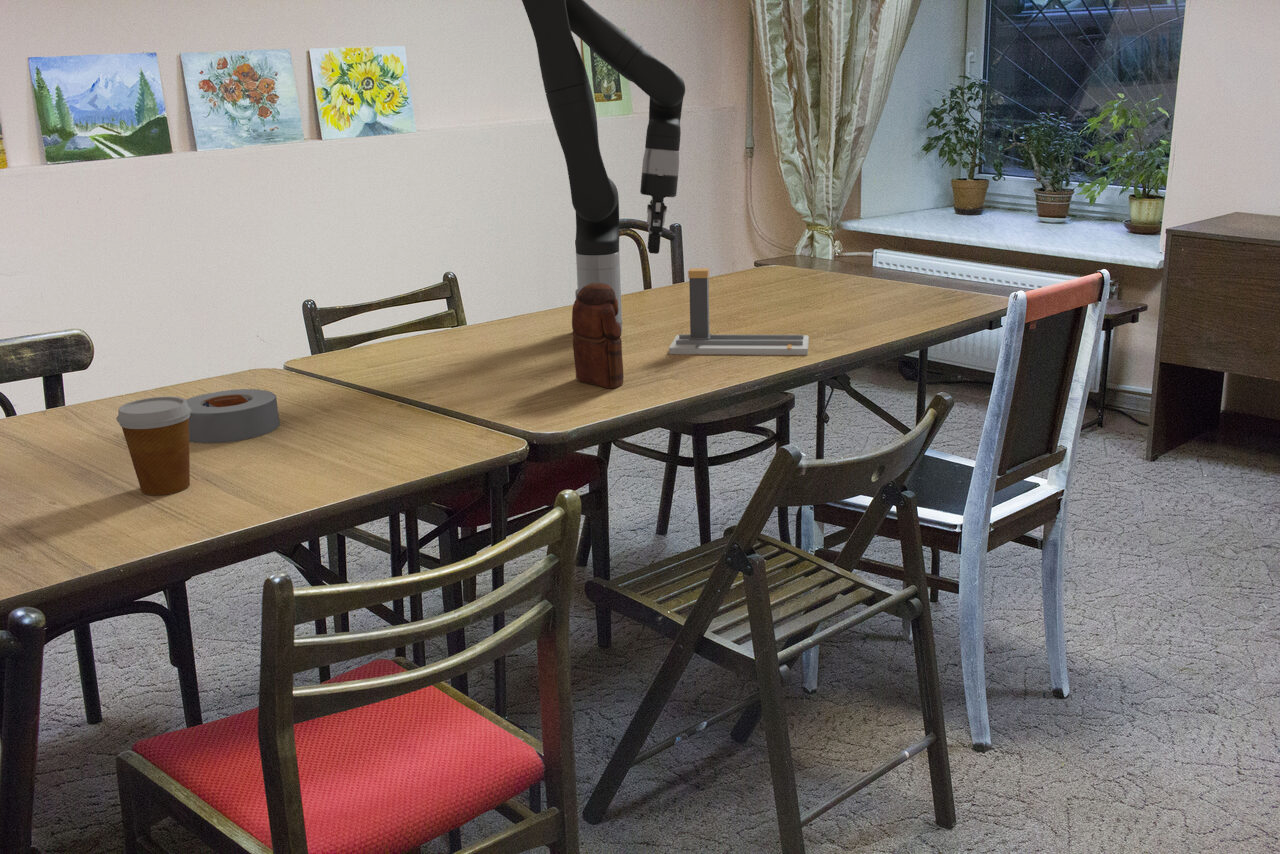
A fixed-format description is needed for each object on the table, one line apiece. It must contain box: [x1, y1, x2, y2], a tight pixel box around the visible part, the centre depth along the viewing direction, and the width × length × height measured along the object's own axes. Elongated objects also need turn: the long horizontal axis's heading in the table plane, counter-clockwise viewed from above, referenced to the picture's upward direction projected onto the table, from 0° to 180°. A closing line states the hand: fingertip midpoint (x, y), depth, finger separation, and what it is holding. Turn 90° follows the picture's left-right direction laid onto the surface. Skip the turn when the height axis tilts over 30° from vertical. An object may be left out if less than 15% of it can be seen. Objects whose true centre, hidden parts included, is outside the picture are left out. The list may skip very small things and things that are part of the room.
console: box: [668, 333, 810, 356], centre depth 233 cm, size 27×13×2 cm, turn 81°
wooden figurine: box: [571, 283, 625, 389], centre depth 208 cm, size 12×6×18 cm, turn 43°
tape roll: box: [185, 388, 281, 444], centre depth 188 cm, size 15×15×5 cm
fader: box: [687, 267, 712, 340], centre depth 232 cm, size 4×4×14 cm
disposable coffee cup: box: [116, 396, 191, 496], centre depth 160 cm, size 10×10×12 cm
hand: (653, 251), depth 243 cm, fingers open, 8 cm apart
